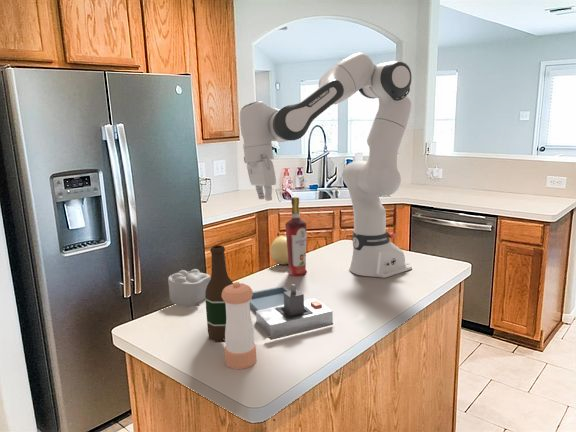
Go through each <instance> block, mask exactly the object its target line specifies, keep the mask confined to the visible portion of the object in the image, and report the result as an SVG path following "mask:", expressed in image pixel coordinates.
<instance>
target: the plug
mask: <svg viewBox="0 0 576 432" xmlns="http://www.w3.org/2000/svg"><path fill="white" fill-rule="evenodd" d="M304 300H305V295H304V293H302V292H301V291H300V290H299V289H297V284H296V283H291V284H290V291H287V292H284V312H285V313H286V314H287V315H288V316H292V315H297V314H301V313H304Z"/></svg>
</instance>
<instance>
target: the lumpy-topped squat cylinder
mask: <svg viewBox="0 0 576 432" xmlns="http://www.w3.org/2000/svg"><path fill="white" fill-rule="evenodd" d="M210 280H211V275H210V274H208V273H204V272H201V271H200V270H199V269H197V268H193V269H191V270H190V271H189V270H188V271H187V270H185V269H181V270H179V271H178V272H174V273H173V274H170V275H169V276H168V279H167V281H168V292H169V301H170V302H171V303H172V304H174V305H178V306H182V307H199V306H200V304H199V303H201V302H203V301H204V300H205V291H206V288H207V285H208V283H209V281H210Z"/></svg>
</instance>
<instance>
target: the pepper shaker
mask: <svg viewBox="0 0 576 432" xmlns="http://www.w3.org/2000/svg"><path fill="white" fill-rule="evenodd" d="M253 292H254V291H253V289H252V288H251V286H250V285H248V284H245V283H240V282H239V281H235V282H233V284H231V285H229V286H227V287H225V288H224V289H223V291H222V295H221V297H222V299H223V300H224V302H225V303H226V328H225V339H224V341H225V346H224V363H225V365H226V366H227V367H228V368H231V369H236V370H243V369H248V368H250V367H252V366H254V365H255V364H256V362H257V344H256V343H255V332H254V331H255V330H254V327H253V326H254V325H253V321H252V317H251V316H252V315H251V307H250V300H251V298H252V295H253Z"/></svg>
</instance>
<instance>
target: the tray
mask: <svg viewBox="0 0 576 432" xmlns="http://www.w3.org/2000/svg"><path fill="white" fill-rule="evenodd" d="M287 291H291V289H289V288H287V287H286V286H285V285H282V286H276V287H272V288H266V289H261V290H256V291H255V290H254V291H252V292H253V295H252V298H251V300H250V309H252V310H253V311H254V312H255V313H256V311H258V310H262V309H267V308H272V307H276V306H281V305H284V292H287Z"/></svg>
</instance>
